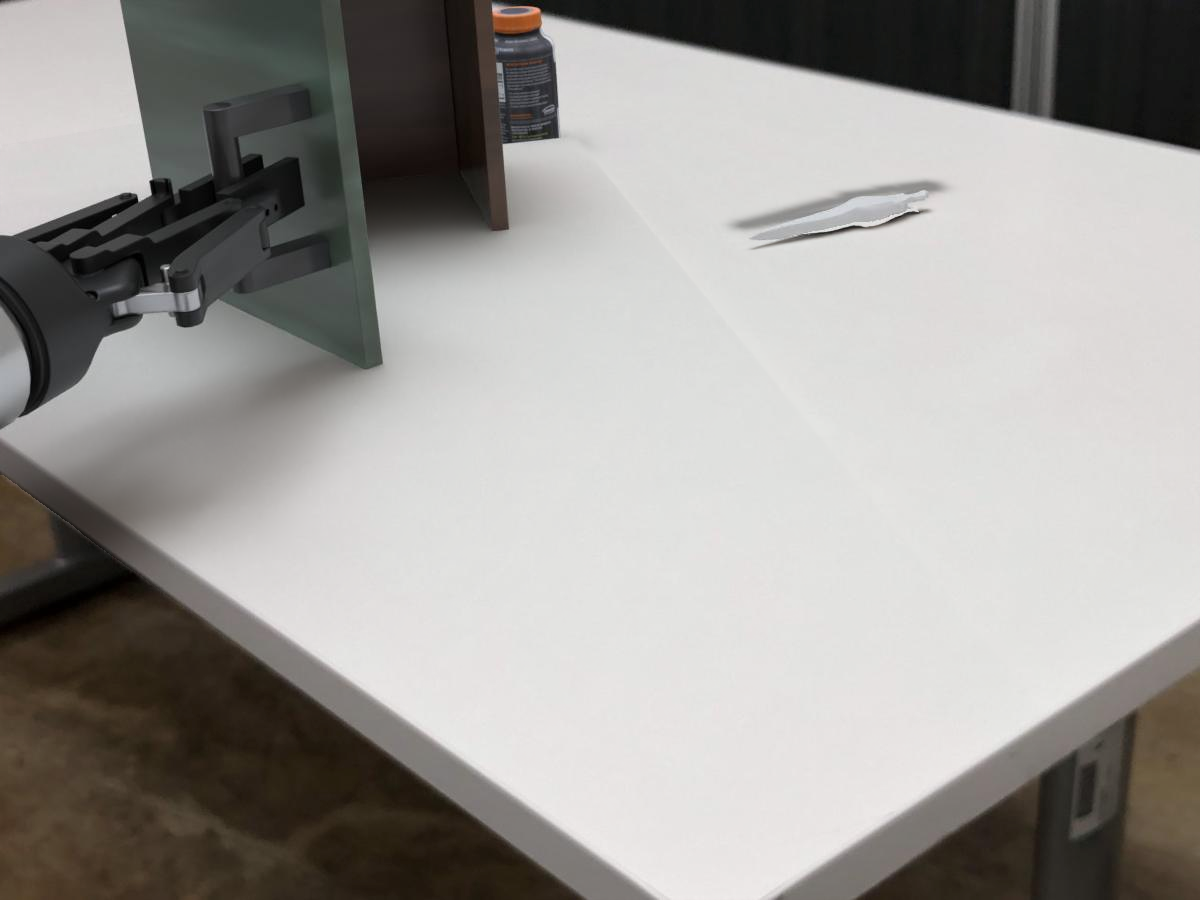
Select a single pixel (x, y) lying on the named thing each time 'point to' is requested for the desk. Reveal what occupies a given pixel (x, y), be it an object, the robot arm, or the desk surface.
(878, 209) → the grey tapered strip
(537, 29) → the pill bottle
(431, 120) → the cupboard
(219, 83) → the cupboard door
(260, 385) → the desk surface
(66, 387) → the robot arm
